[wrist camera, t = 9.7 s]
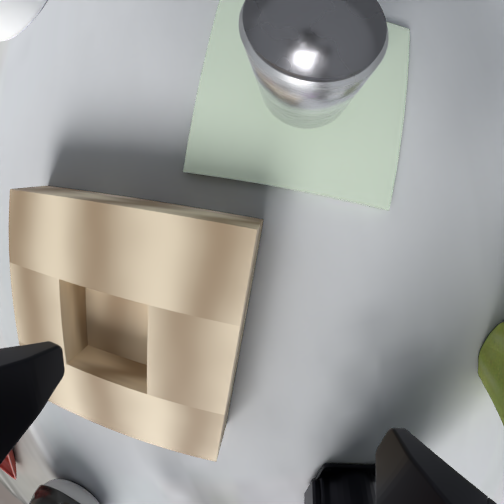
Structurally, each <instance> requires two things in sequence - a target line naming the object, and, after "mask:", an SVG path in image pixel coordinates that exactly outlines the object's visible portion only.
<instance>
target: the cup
mask: <svg viewBox="0 0 504 504" xmlns="http://www.w3.org/2000/svg"><path fill="white" fill-rule="evenodd" d="M46 1H47V0H0V41H6V40H9V39H11V38H13V37H15V36H17V35H18V34H20V33H21V32H22V31H23V30H24V29H25V28H27V27H28V26H29V24H30V23H31V22H32V21H33V20H34V19H35V18H36V16H37V15H38V14H39V12H40V11H41V9H42V8H43V6H44V5H45V3H46Z"/></svg>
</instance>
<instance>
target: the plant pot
mask: <svg viewBox="0 0 504 504" xmlns="http://www.w3.org/2000/svg"><path fill="white" fill-rule="evenodd" d="M478 374H479V377H480V378H481V380H482V382H483V384H484V386H485V388H486V390H487V392H488V393H489V395H490V397H491V399H492V401H493V403H494V405H495V407H496V409H497V412H498V414H499V416H500V418H501V420H502V423H503V425H504V322H502V323H500V324H499V325H497V326H496V327H495V328H494V330H493V331H492V332H491V333H490V334H489V336H488V337H487V339H486V340H485V342H484V344H483V346H482V348H481V351H480V353H479V357H478Z"/></svg>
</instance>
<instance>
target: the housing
mask: <svg viewBox="0 0 504 504" xmlns="http://www.w3.org/2000/svg"><path fill="white" fill-rule="evenodd" d="M262 225H263V219H258V218H253V217H247V216H241V215H236V214H230V213H225V212H219V211H213V210H207V209H201V208H195V207H189V206H183V205H177V204H171V203H165V202H158V201H152V200H146V199H139V198H132V197H126V196H119V195H112V194H105V193H98V192H91V191H84V190H76V189H69V188H61V187H53V186H39V187H28V188H18V189H10V201H9V257H10V274H11V287H12V297H13V305H14V313H15V320H16V327H17V333H18V339H19V344H20V346H22V345H28V344H34V343H40V342H46V341H51V342H53V343H55V344H58V345H60V346H61V348H62V350H63V359H64V367H65V372H64V376H63V378H62V380H61V381H60V383H59V384H58V386H57V387H56V389H55V390H54V392H53V393H52V395H51V397H50V398H49V400H48V401H50V402H52V403H54V404H56V405H58V406H60V407H62V408H64V409H66V410H68V411H70V412H72V413H74V414H76V415H79V416H81V417H83V418H85V419H87V420H90V421H92V422H94V423H97V424H99V425H101V426H104V427H106V428H109V429H111V430H114V431H116V432H119V433H122V434H124V435H127V436H130V437H133V438H135V439H138V440H141V441H144V442H147V443H150V444H153V445H156V446H159V447H163V448H166V449H169V450H173V451H176V452H180V453H183V454H187V455H191V456H195V457H199V458H203V459H207V460H211V461H215V462H216V461H217V457H218V453H219V450H220V446H221V442H222V438H223V435H224V431H225V427H226V423H227V417H228V412H229V406H230V401H231V396H232V390H233V385H234V380H235V374H236V369H237V363H238V358H239V352H240V347H241V341H242V336H243V331H244V325H245V320H246V314H247V309H248V303H249V298H250V292H251V287H252V281H253V275H254V270H255V264H256V259H257V253H258V248H259V242H260V236H261V231H262Z"/></svg>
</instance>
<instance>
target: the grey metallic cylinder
mask: <svg viewBox="0 0 504 504" xmlns="http://www.w3.org/2000/svg"><path fill="white" fill-rule="evenodd" d="M239 33H240V37H241V40H242V43H243V45H244V48H245V51H246V53H247V56H248V59H249V61H250V64H251V67H252V70H253V72H254V75H255V78H256V81H257V83H258V86H259V89H260V92H261V95H262V98H263V101H264V103H265V105H266V106H267V108H268V109H269V111H270V112H271V113H272V114H273V115H274V116H275V117H276V118H277V119H279V120H280V121H282V122H283V123H285V124H287V125H290V126H293V127H297V128H303V129H313V128H319V127H322V126H325V125H327V124H329V123H331V122H333V121H334V120H335V119H337V118H338V117H339V116H340V115H341V113H342V112H343V111H344V109H345V108H346V107H347V106H348V104H349V103H350V102H351V100H352V99H353V98H354V96H355V95H356V94H357V93H358V91H359V90H360V89H361V87H362V86H363V85H364V84H365V82H366V81H367V80H368V78H369V77H370V76H371V74H372V73H373V72H374V71H375V69H376V68H377V67H378V65H379V64H380V63H381V61H382V60H383V58H384V56H385V54H386V50H387V47H388V40H389V36H388V27H387V23H386V19H385V16H384V13H383V10H382V8H381V7H380V5H379V3H378V2H377V0H245V2H244V4H243V6H242V8H241V11H240V15H239Z"/></svg>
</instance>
